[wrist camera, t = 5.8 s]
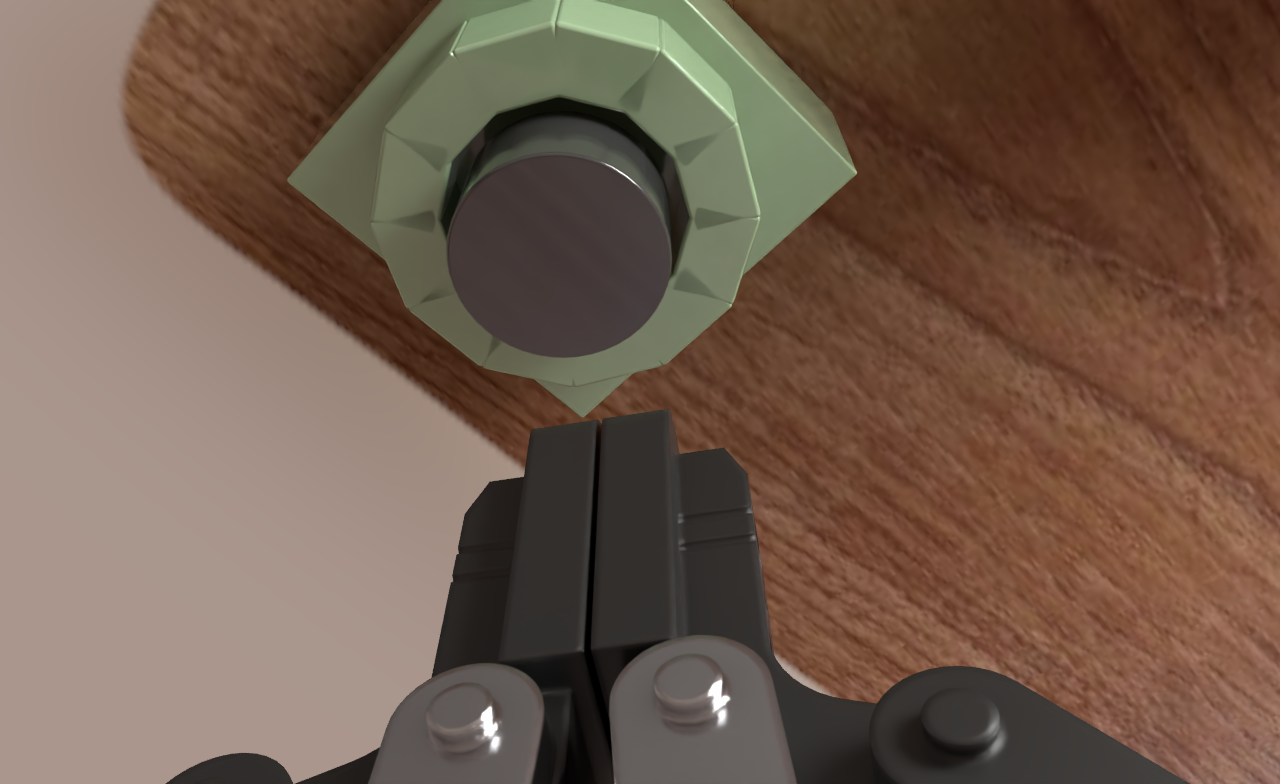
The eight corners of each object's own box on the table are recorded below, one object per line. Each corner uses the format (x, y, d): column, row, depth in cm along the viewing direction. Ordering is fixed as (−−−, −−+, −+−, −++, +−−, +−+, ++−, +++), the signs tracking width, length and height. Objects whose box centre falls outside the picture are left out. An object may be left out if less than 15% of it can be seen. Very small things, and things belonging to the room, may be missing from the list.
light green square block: (327, 119, 25) (255, 224, 21) (568, -161, 23) (547, -113, 18) (589, 338, 28) (577, 475, 23) (833, 112, 25) (876, 216, 21)
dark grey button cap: (420, 212, 21) (399, 262, 19) (558, 65, 20) (550, 104, 18) (572, 339, 22) (566, 397, 21) (712, 208, 21) (719, 259, 19)
